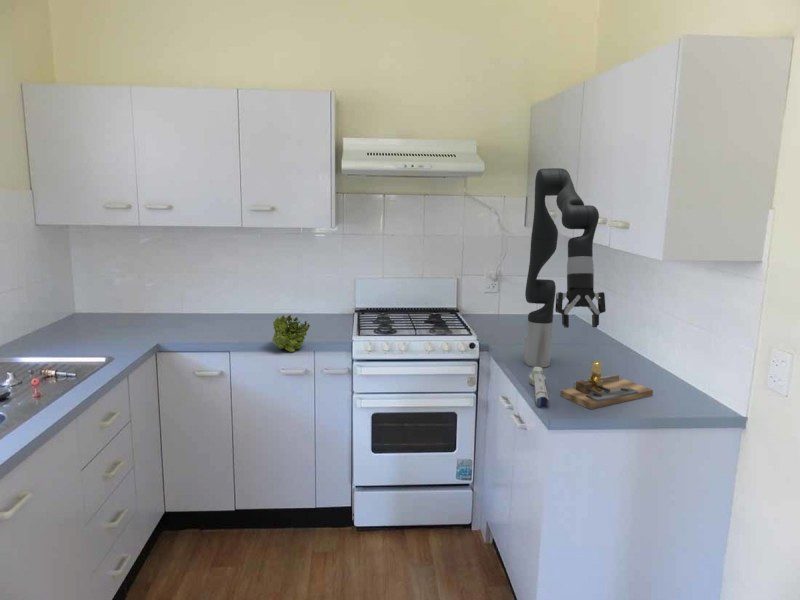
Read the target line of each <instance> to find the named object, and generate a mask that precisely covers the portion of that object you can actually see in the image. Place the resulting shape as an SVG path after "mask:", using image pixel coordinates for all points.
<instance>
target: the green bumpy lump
mask: <svg viewBox="0 0 800 600" xmlns="http://www.w3.org/2000/svg"><path fill="white" fill-rule="evenodd" d="M285 316H286V315H285V314H284V315H282V316H281V317H280V316H278V317H276V319H274V321H273V329H274V333H273V336H272V340H271V341H272V342H273V344H274V345H275V346H276V347H277V348H279V349H280V350H283V349H284V350H285V351H288V352H289V353H293V352H295V351H296V350H298V349H300V348H302V347H301V345H303V344H304V342H305V341H304V340H305V339H306V338H305V336H307V335H308V334H307V332H308V331H309V329H310V327H311V325H310V324H309V323H308V322H307V320H305V321H304V323H301V320H299V319H298V316H295V318H293V317H292V315H291V314H289V315H287V316H286V317H285Z"/></svg>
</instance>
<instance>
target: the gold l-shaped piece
mask: <svg viewBox="0 0 800 600" xmlns="http://www.w3.org/2000/svg"><path fill="white" fill-rule="evenodd" d="M602 367H603V362H602V361H599V360H591V366H590V377H589V378H587V382H589V383H592V389H594V390H596V391H598V390H604V391H607V392H610V389H608V388H606V387H603V381H602V380H601V377H602Z"/></svg>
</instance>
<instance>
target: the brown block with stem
mask: <svg viewBox="0 0 800 600" xmlns="http://www.w3.org/2000/svg"><path fill="white" fill-rule="evenodd" d="M575 382H576V390H577V391H579V392H581V393H584V394H586V393H591V392H592V393H595V394H599V392H598V391H596V390H594V389H592V383H589V382H587V381H585V380H584V379H581V380H576V381H575Z"/></svg>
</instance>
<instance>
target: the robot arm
mask: <svg viewBox="0 0 800 600" xmlns="http://www.w3.org/2000/svg"><path fill="white" fill-rule="evenodd" d="M534 179H535V180H534V210H533V221H532V230H531V237H530V249H529V251H530V252H529V253H530V254H529V265H528V272H527V279H526V283H525V294H524V297H525V301H526V302H527V303H528V304H534V305H535V304H537V305H538V304H539V305H542V304H543V306H542V307H541V308H539V309H537V310H533V311H531V312H529V313H528V314H527V315H528V316H527V328H526V329H527V330H526V331H527V333H526V338H524V354H523V363H525V365H526V366H529V367H532V368H534V367H541V368H542V369H543V368H548V367H550V364H551V351H552V338H553V337H552V335H553V322H554V321H553V320H554V319H553V318H554V312H555V313H558V314H560V315H561V325H562V326H563V327H564V328H565V329H566V328H570V326H569V325H570V323H569V322H570V319H569V318H570V317H569V313H570V312H571V310H572V309H574V308H579V307H581V308H587V309H589V310H590V312H591V313H592V315H591V327H592V328H598V326H599V325H600V314H603V313H606V309H607V308H606V296H605V295H606V294H605V292H603V291H602V292H601V291H600V292H595V291H594V289H595V287H594V283H595V282H594V276H595V275H594V271H595V269H594V259H593V254H594V253H593V252H594V251H593V244H594V238H595V233H596V230H597V226H598V224H599V220H600V213H599V210H598V208H597V207H596V206H594V205H590V204H589V205H587V204H585V203H584V201H583V200H582V197H580V196H579V194H578V193H577V192H576V188H575V186H574V184H573V180H572V178H571V174H570V173H569V171H568V170H567V169H566V168H561V167H559V168H558V167H557V168H553V167H552V168H551V167H550V168H540V169H538V170H537V172H536V175H535V178H534ZM547 196H548V197H549V196H550V197H551V196H552V197H553V196H554V197H555V196H556V206H557V208H558V209H559V211H560V212H561V224H562V226H563V227H564V228H565V229H568V230H584V231H583V233H582V234H581V235H579V236H574V237H572V238H571V237H570V238H569V239H568V240H567V262H566V288H567V289H566V292H561V291H560V292H559V291H558V292H557V293H556V283H555V281H554V280H552V279H541V278H538V276H539V273H540V271H541V270H542V269H543V267H544V266H545V264H546V263H547V262H548V261H549V260H550V259H551V258H552V256H553V255H554V254H555V252H556V250H557V246H558V237H559V230H558V227H557V225H556V223H555V220H553V218H552V215H550V213H549V211H548V208H547V205H546V197H547ZM565 298H566V299H567V301H568V302H567V303H566V304H565V306H564V307H563V300H565ZM594 299H596V300H597V306H596V304H595V302H594V301H593V300H594ZM554 308H555V309H554ZM554 310H555V311H554Z"/></svg>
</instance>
